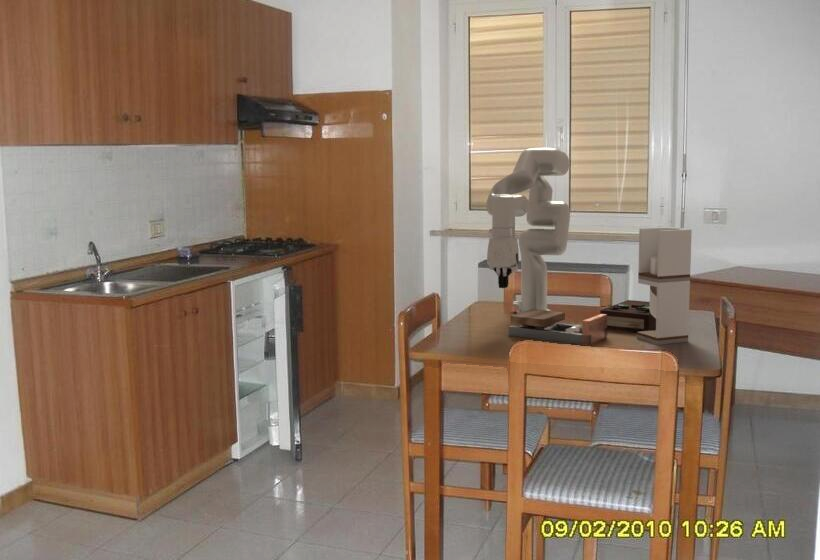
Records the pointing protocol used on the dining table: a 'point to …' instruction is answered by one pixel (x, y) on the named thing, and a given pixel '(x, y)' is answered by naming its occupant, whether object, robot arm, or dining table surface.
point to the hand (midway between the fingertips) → (503, 287)
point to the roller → (574, 329)
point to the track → (591, 332)
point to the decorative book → (630, 316)
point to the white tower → (666, 281)
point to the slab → (537, 317)
